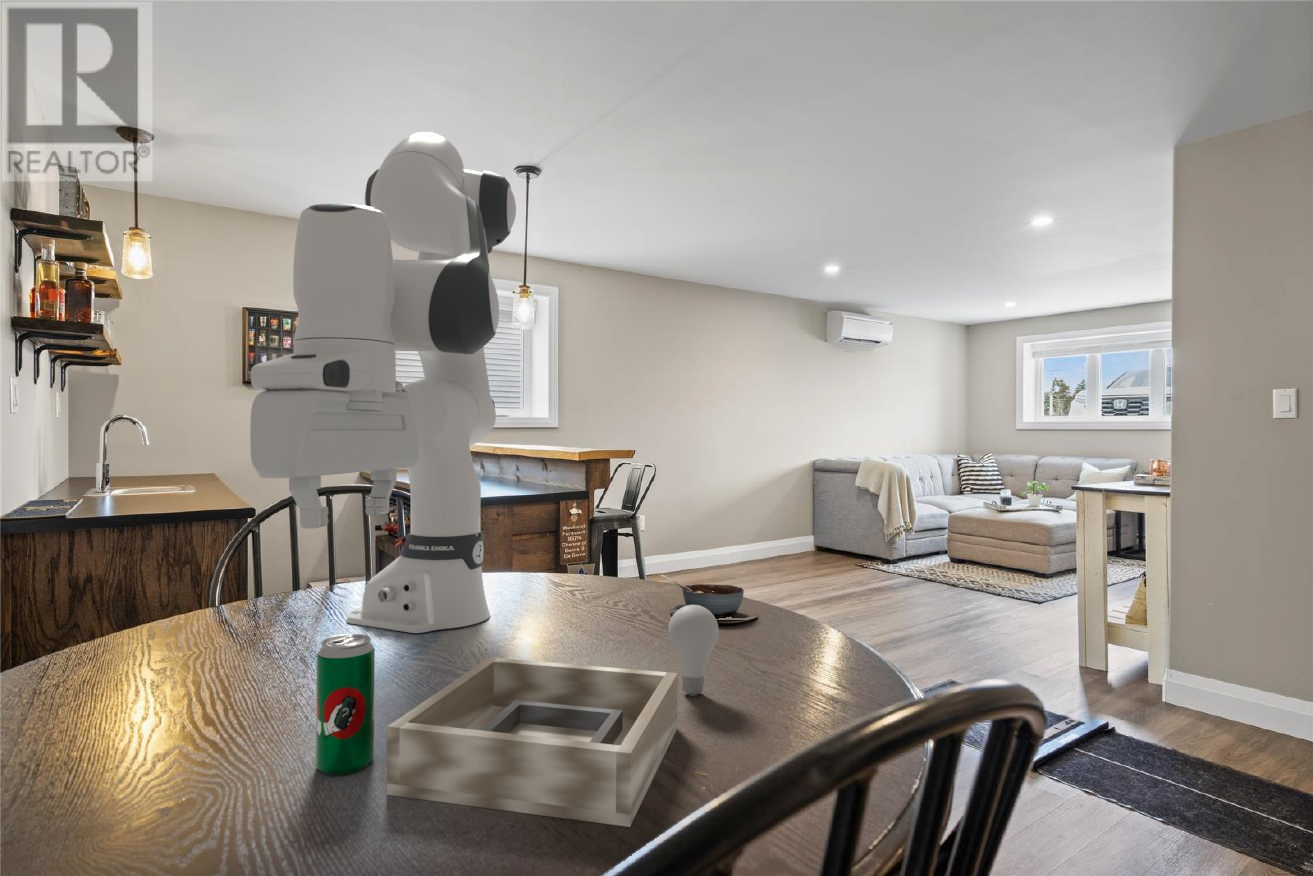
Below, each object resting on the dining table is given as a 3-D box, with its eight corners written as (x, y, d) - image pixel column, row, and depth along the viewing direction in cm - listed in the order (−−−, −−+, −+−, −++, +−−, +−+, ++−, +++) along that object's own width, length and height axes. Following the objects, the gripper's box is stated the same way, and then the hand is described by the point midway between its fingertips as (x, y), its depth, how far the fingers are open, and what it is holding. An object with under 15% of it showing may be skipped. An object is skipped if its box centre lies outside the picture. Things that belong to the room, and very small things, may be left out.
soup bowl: (733, 637, 114) (733, 590, 114) (647, 622, 123) (648, 578, 122) (770, 617, 127) (771, 575, 127) (690, 604, 135) (691, 565, 135)
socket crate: (386, 794, 64) (387, 726, 63) (488, 709, 83) (488, 657, 83) (630, 827, 59) (630, 753, 59) (677, 728, 78) (677, 673, 78)
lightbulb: (665, 687, 91) (666, 599, 91) (713, 686, 91) (714, 599, 91) (670, 706, 85) (671, 612, 85) (722, 704, 85) (723, 611, 85)
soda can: (385, 762, 70) (385, 637, 70) (337, 783, 65) (338, 651, 65) (352, 749, 72) (353, 629, 72) (304, 769, 68) (305, 641, 68)
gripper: (381, 382, 79) (382, 508, 80) (234, 366, 59) (236, 535, 60) (433, 381, 78) (434, 509, 78) (301, 364, 58) (303, 537, 58)
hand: (348, 521), depth 69 cm, fingers open, 8 cm apart
